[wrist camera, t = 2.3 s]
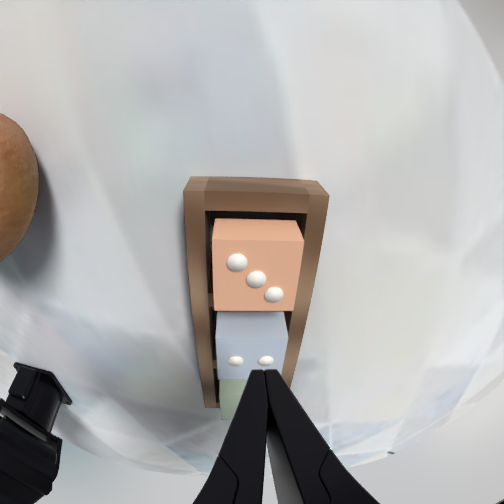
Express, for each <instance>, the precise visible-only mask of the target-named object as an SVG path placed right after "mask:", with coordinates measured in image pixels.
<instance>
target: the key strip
mask: <svg viewBox="0 0 504 504" xmlns="http://www.w3.org/2000/svg"><path fill="white" fill-rule="evenodd" d="M183 196H184V216H185V233H186V248H187V262H188V274H189V285H190V296H191V306H192V315H193V324H194V333H195V341H196V349H197V356H198V364H199V371H200V378H201V385H202V391H203V398H204V404H205V408H220V398H219V387H220V380H217V375H216V369H217V354H216V335H214V329H213V310H212V307H214V293H213V269H211V261H210V220H209V211H255V212H287V213H296V219H295V221H296V222H297V225H298V227H299V229H300V232H301V234H302V237H303V239H304V248H303V254H302V261H301V267H300V274H299V280H298V286H297V292H296V298H295V304H294V310H293V311H283V312H284V317H285V322H286V327H287V332H288V343H287V348H286V353H285V358H284V363H283V368H282V373H281V376H282V377H283V379H284V380H285V382H286V384H287V385H288V387H289V388H290V386H291V382H292V378H293V374H294V371H295V367H296V363H297V359H298V354H299V350H300V346H301V342H302V338H303V333H304V329H305V325H306V320H307V316H308V311H309V306H310V302H311V297H312V292H313V287H314V282H315V277H316V272H317V267H318V261H319V256H320V250H321V245H322V239H323V233H324V227H325V221H326V215H327V208H328V202H329V194H328V193H327V192H326V191H325V190H324V188H323V187H322V186H321V185H320V184H319V183H318V181H312V180H297V179H278V178H253V177H191V178H190V180H189V181H188V183H187V185H186V187H185V189H184V191H183Z"/></svg>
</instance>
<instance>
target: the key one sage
mask: <svg viewBox="0 0 504 504" xmlns="http://www.w3.org/2000/svg"><path fill="white" fill-rule="evenodd" d="M247 380H248V379H220V387H219V398H220V411H221V420H232V419H233V417H234V414H235V411H236V409H237V406H238V404H239V401H240V398H241V396H242V393H243V390H244V388H245V385H246V382H247Z"/></svg>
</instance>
